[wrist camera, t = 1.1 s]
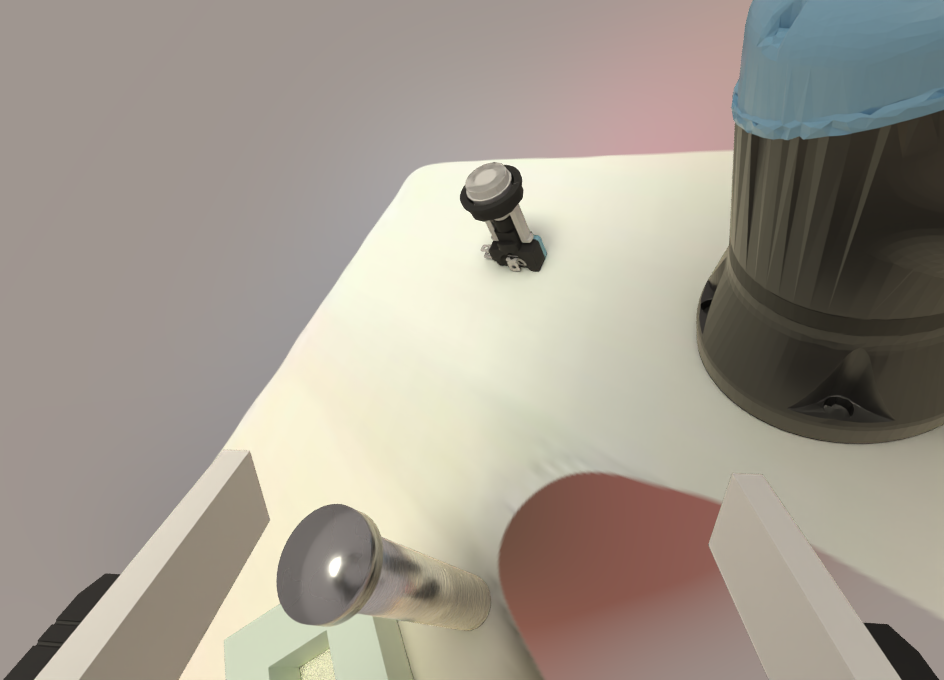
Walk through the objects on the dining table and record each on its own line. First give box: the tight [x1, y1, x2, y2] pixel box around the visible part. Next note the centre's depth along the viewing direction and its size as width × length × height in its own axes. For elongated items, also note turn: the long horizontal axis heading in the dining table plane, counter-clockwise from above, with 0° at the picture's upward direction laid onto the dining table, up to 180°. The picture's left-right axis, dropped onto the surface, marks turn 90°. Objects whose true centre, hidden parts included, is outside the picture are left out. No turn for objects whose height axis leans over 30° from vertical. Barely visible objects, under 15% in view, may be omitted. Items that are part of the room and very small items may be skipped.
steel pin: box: [277, 504, 491, 631], centre depth 24 cm, size 4×4×15 cm
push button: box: [460, 162, 547, 271], centre depth 41 cm, size 7×5×10 cm
